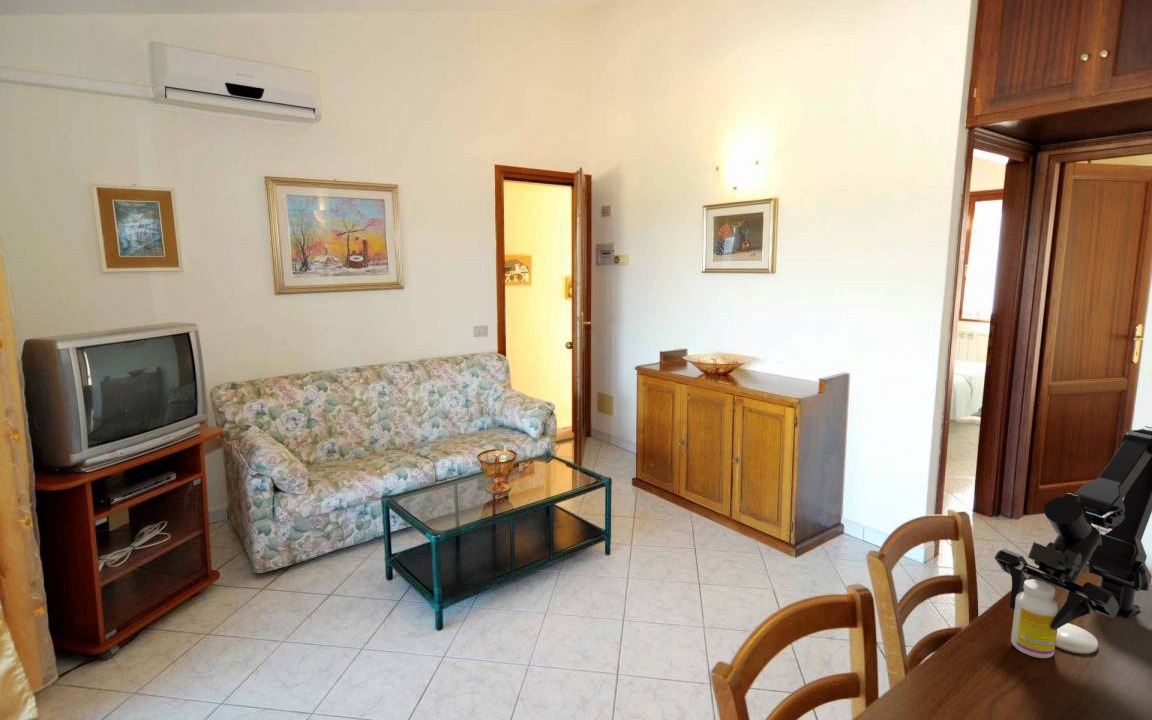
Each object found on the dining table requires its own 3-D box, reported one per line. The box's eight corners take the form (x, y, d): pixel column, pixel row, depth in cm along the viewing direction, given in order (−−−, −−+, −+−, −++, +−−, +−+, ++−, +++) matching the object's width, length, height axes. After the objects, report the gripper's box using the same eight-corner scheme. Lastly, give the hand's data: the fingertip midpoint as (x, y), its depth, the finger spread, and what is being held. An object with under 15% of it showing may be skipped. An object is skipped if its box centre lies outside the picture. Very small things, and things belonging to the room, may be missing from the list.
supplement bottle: (1061, 662, 112) (1070, 597, 110) (1020, 657, 114) (1028, 593, 111) (1042, 639, 119) (1050, 578, 116) (1003, 635, 120) (1010, 575, 118)
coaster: (1051, 619, 125) (1051, 615, 125) (1106, 643, 117) (1106, 638, 117) (1028, 634, 120) (1029, 629, 120) (1084, 659, 113) (1085, 654, 113)
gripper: (1005, 510, 122) (964, 574, 119) (1120, 549, 106) (1076, 625, 103) (1023, 538, 127) (985, 601, 124) (1136, 580, 110) (1095, 654, 107)
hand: (1031, 618), depth 114 cm, fingers closed on supplement bottle, 7 cm apart
